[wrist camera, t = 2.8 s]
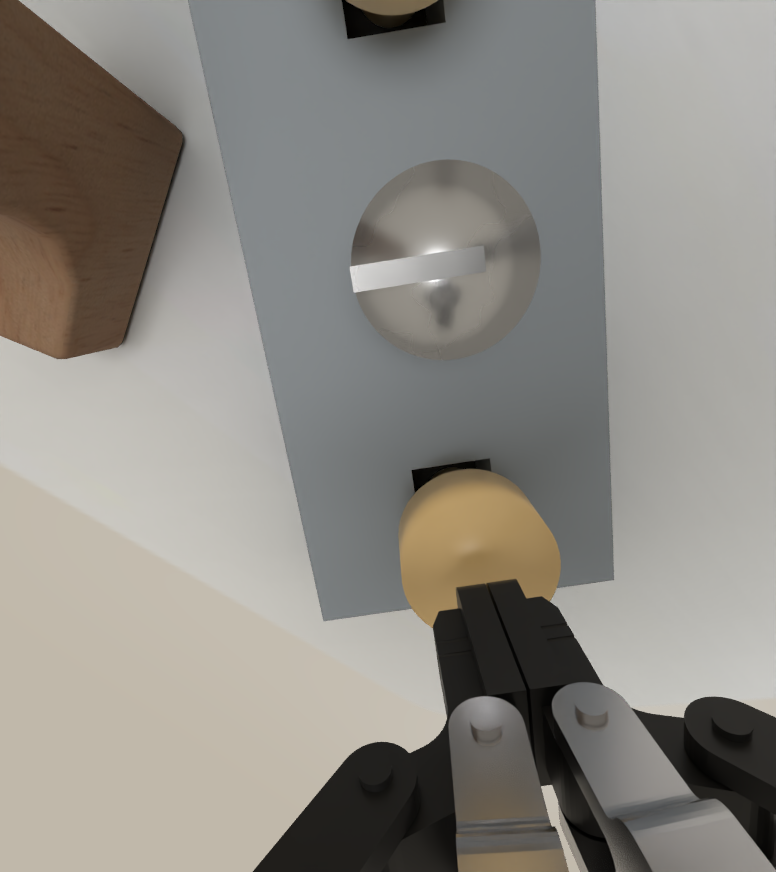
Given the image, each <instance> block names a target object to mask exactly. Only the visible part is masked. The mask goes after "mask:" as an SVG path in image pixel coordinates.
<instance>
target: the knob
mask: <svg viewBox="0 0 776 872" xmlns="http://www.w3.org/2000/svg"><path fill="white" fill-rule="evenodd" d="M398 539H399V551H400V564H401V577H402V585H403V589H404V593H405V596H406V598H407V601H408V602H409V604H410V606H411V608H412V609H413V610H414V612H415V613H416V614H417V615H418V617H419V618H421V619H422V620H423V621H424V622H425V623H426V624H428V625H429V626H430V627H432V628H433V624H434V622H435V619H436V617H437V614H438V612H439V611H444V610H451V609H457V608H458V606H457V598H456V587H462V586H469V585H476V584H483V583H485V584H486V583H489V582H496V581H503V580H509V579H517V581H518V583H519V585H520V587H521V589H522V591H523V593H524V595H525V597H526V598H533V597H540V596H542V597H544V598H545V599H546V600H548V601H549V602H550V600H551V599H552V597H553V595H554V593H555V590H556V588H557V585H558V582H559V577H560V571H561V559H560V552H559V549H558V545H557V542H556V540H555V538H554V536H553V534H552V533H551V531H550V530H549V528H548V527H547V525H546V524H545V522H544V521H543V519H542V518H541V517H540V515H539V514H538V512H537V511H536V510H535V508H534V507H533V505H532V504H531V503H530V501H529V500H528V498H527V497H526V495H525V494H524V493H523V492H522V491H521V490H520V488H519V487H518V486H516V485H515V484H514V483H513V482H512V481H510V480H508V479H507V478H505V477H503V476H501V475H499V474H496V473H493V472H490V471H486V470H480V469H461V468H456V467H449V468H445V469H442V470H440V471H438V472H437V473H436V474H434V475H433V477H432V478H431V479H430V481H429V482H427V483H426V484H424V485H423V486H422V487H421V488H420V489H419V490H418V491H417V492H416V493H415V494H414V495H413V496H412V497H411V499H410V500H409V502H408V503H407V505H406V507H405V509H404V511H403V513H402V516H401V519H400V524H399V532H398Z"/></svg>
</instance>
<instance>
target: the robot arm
mask: <svg viewBox="0 0 776 872" xmlns="http://www.w3.org/2000/svg"><path fill="white" fill-rule="evenodd" d="M456 598H457V606H458V608H457V609H451V610H444V611H439V612H438V614H437V617H436V619H435V622H434V624H433V631H434V638H435V645H436V653H437V660H438V667H439V674H440V680H441V686H442V692H443V697H444V703H445V709H446V714H447V721H446V724H445V726H444V728H443V730H442V731H441V733H440V734H439V735H438V736H437V737H436V738H435V739H434V740H433V741H432V742H430V743H429V744H428V745H426V746H424V747H422V748H420V749H418V750H416V751H413V752H412V753H408V752H407V751H406V750H405V749H404V748H402V747H400V746H398V745H396V744H393V743H388V742H376V743H371V744H368V745H365V746H363V747H361V748H359V749H357V750H356V751H354V752H353V753H352V754H351V755H350V756H349V757H348V758H347V759H346V760H345V761H344V762H343V764H342V765H341V766H340V767H339V768H338V770H337V771H336V772H335V773H334V774H333V776H332V777H331V778H330V779H329V780H328V782H327V783H326V784H325V785H324V787H323V788H322V789H321V790H320V791H319V793H318V794H317V795H316V796H315V797H314V799H313V800H312V801H311V802H310V803H309V805H308V806H307V807H306V808H305V809H304V811H303V812H302V813H301V814H300V815H299V817H298V818H297V819H296V820H295V821H294V823H293V824H292V825H291V826H290V827H289V829H288V830H287V831H286V832H285V833H284V835H283V836H282V837H281V838H280V839H279V841H278V842H277V843H276V844H275V846H274V847H273V848H272V849H271V850H270V852H269V853H268V854H267V855H266V856H265V858H264V859H263V860H262V861H261V862H260V864H259V865H258V866H257V867H256V869H255V870H254V871H253V872H569V871H568V867H567V863H566V859H565V856H564V852H563V848H562V845H561V841H560V838H559V835H558V832H557V830H556V828H555V827H552V826H551V823H550V820H549V817H548V813H547V809H546V805H545V801H544V798H543V793H542V789H541V786H545V785H553V788H554V791H555V793H556V796H557V799H558V805H559V819H560V824H561V827H562V830H563V833H564V835H565V837H566V840H567V842H568V844H569V846H570V849H571V851H572V854H573V856H574V858H575V860H576V863H577V865H578V867H579V870H580V872H776V718H775V717H773V716H771V715H769V714H766V713H764V712H762V711H760V710H758V709H755V708H753V707H751V706H749V705H746V704H744V703H741V702H739V701H736V700H732V699H728V698H723V697H704V698H700V699H697V700H695V701H693V702H692V703H690V704H689V705H688V707H687V708H686V710H685V714H684V718H680V717H672V716H663V715H656V714H650V713H645V712H641V711H638V710H635V709H633V708H631V707H630V706H629V704H628V703H627V702H626V701H625V699H624V698H623V697H621V696H620V695H619V694H618V693H616V692H615V691H613V690H612V689H610V688H608V687H605V686H603V684H602V682H601V681H600V679H599V677H598V676H597V674H596V672H595V670H594V669H593V667H592V665H591V664H590V662H589V660H588V658H587V657H586V655H585V653H584V652H583V650H582V648H581V646H580V645H579V643H578V641H577V640H576V638H574V634H573V633H572V631H571V629H570V628H569V626H567V622H566V621H565V619H564V617H563V616H562V614H561V612H560V610H559V609H558V608H557V607H556V606H555V605H553V604H552V603H551V602H549V601H548V600H546V599H545V598H544V597H542V596H540V597H533V598H526V597H525V595H524V593H523V591H522V589H521V587H520V585H519V583H518V581H517V579H509V580H503V581H496V582H489V583H486V584H485V583H483V584H476V585H469V586H462V587H456Z"/></svg>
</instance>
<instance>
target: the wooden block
mask: <svg viewBox="0 0 776 872" xmlns="http://www.w3.org/2000/svg"><path fill="white" fill-rule="evenodd" d="M181 145H182V132H181V131H180V130H179V129H178V128H177V127H176V126H175V125H174V124H172V123H171V122H170V121H169V120H167V119H166V118H165V117H164V116H162V115H161V114H160V113H158V112H157V111H156V110H155V109H153V108H152V107H151V106H150V105H148V104H147V103H146V102H145V101H143V100H142V99H141V98H139V97H138V96H137V95H136V94H134V93H133V92H132V91H131V90H129V89H128V88H127V87H126V86H124V85H123V84H122V83H121V82H119V81H118V80H117V79H116V78H114V77H113V76H112V75H111V74H109V73H108V72H107V71H106V70H104V69H103V68H102V67H101V66H99V65H98V64H97V63H96V62H94V61H93V60H92V59H91V58H89V57H88V56H87V55H86V54H84V53H83V52H82V51H81V50H80V49H78V48H77V47H76V46H75V45H73V44H72V43H71V42H70V41H68V40H67V39H66V38H65V37H63V36H62V35H61V34H60V33H58V32H57V31H56V30H55V29H53V28H52V27H51V26H50V25H48V24H47V23H46V22H45V21H43V20H42V19H41V18H40V17H39V16H37V15H36V14H35V13H34V12H32V11H31V10H30V9H29V8H27V7H26V6H25V5H24V4H22V3H21V2H20V1H19V0H0V336H2V337H5V338H7V339H10V340H12V341H14V342H17V343H19V344H22V345H24V346H27V347H29V348H32V349H34V350H37V351H39V352H41V353H44V354H46V355H49V356H51V357H54V358H56V359H68V358H72V357H77V356H81V355H85V354H90V353H94V352H99V351H103V350H107V349H112V348H116V347H118V346H119V345H120V344H121V343H122V342H123V338H124V335H125V332H126V328H127V325H128V322H129V318H130V315H131V312H132V308H133V305H134V302H135V299H136V295H137V292H138V289H139V285H140V282H141V279H142V275H143V272H144V269H145V265H146V262H147V259H148V255H149V252H150V249H151V245H152V242H153V239H154V235H155V232H156V229H157V225H158V222H159V219H160V215H161V212H162V208H163V205H164V202H165V198H166V195H167V192H168V188H169V185H170V182H171V178H172V175H173V172H174V168H175V165H176V162H177V158H178V155H179V151H180V148H181Z"/></svg>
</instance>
